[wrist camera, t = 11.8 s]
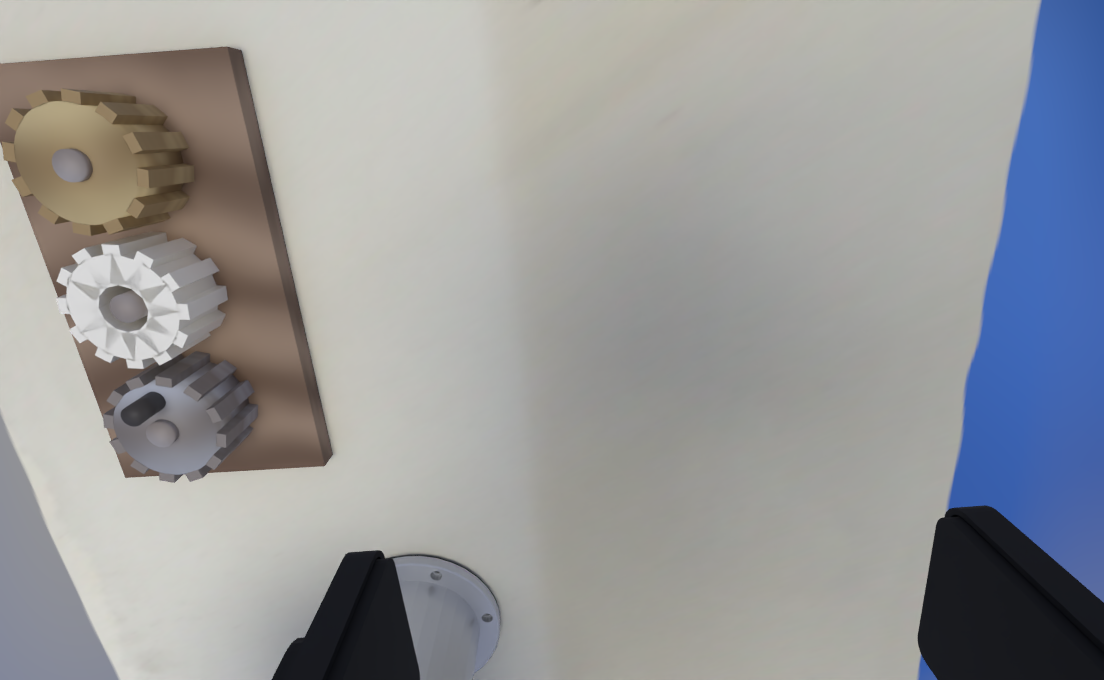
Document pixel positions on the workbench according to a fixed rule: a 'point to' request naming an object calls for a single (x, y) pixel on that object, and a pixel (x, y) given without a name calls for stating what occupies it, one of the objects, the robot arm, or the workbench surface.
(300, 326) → the gear board
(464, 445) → the workbench surface
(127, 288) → the gear
